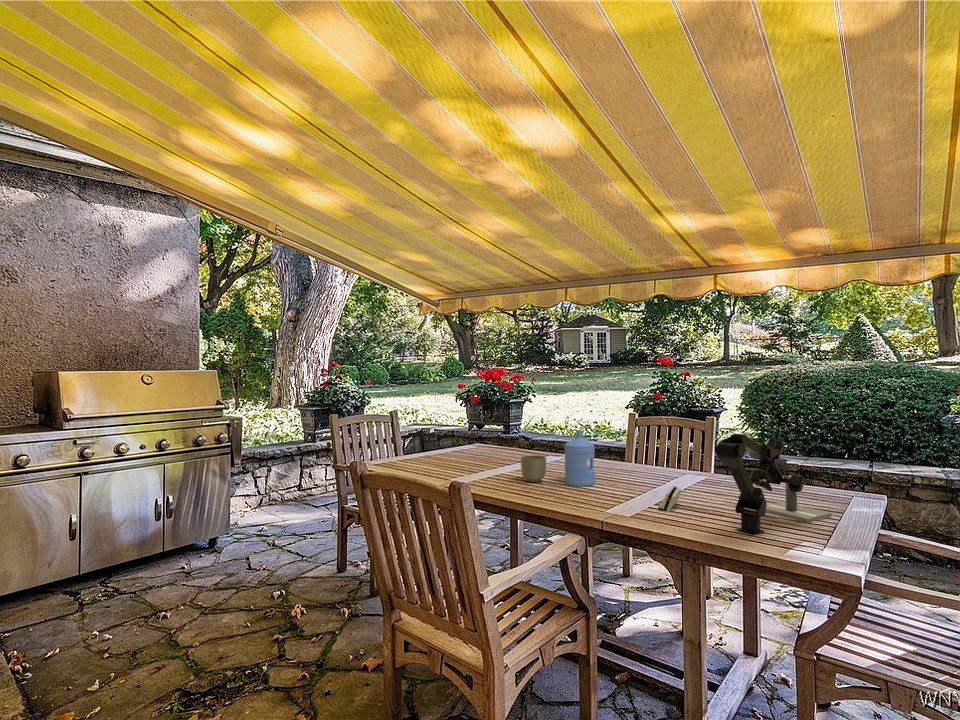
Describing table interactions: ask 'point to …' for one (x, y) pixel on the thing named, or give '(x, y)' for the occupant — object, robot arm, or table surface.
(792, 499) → the bottle
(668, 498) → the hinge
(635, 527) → the table surface
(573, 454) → the water jug
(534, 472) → the planter
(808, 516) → the board
